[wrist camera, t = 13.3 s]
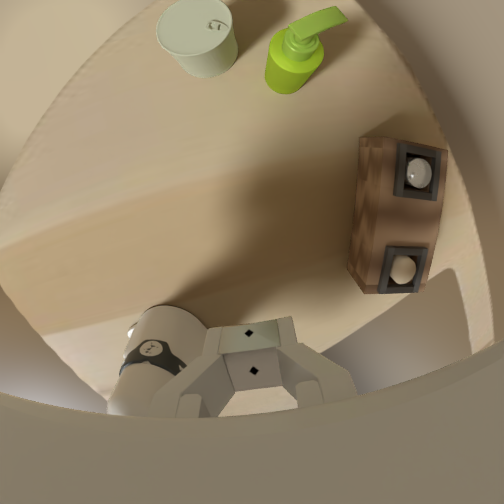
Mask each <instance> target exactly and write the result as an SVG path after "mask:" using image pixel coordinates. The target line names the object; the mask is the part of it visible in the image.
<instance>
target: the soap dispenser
mask: <svg viewBox="0 0 504 504" xmlns="http://www.w3.org/2000/svg"><path fill="white" fill-rule="evenodd" d="M347 21H348V19H347V18H346V17H345V16H344V15H343V13H342V12H341V11H340V10H339V9H338V8H337V7H336V6H333V7H329V8H326V9H323V10H320V11H317V12H315V13H312V14H310V15H308V16H305V17H303V18H301V19H299V20H297V21H295V22H293V23H291V24H289V25H288V28H286V29H283V30H281V31H279V32H277V33H276V34H275V35H274V36H273V38H272V39H271V41H270V45H269V51H268V58H267V64H266V70H265V80H266V83H267V84H268V86H269V87H270V88H271V89H272V90H274V91H275V92H277V93H281V94H291V93H294V92H296V91H297V90H299V89H300V88H301V87H302V85H303V84H304V83H305V82H306V81H307V79H308V78H309V77H310V76H311V75H312V73H313V72H314V71H315V70H316V69H317V67H318V66H319V65H320V64H321V62H322V60H323V57H324V49H323V46H322V43H321V42H320V40H319V37H318V35H317V34H319V33H321V32H323V31H325V30H327V29H330V28H332V27H334V26H337V25H340V24H343V23H345V22H347Z"/></svg>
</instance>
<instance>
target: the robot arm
mask: <svg viewBox="0 0 504 504" xmlns="http://www.w3.org/2000/svg"><path fill="white" fill-rule="evenodd" d="M277 321H278V323H277ZM128 337H129V341H128V343H127V346H126V348H125V351H124V354H123V357H124V358H125V360H124V361H123V363H122V366H121V369H120V373H119V379H118V381H117V383H116V385H115V387H114V389H113V391H112V394H111V396H110V398H109V400H108V402H107V414H102V413H94V412H87V411H81V410H74V409H69V408H63V407H58V406H53V405H48V404H44V403H39V402H35V401H31V400H27V399H23V398H20V397H15V396H12V395H9V394H5V393H2V392H0V504H504V339H502V340H500V341H498V342H497V343H495V344H493V345H491V346H489V347H487V348H485V349H483V350H481V351H479V352H477V353H475V354H473V355H471V356H468V357H466V358H464V359H462V360H460V361H457V362H455V363H453V364H450V365H448V366H445V367H443V368H441V369H438V370H436V371H433V372H430V373H428V374H425V375H423V376H420V377H417V378H414V379H411V380H408V381H405V382H403V383H399V384H396V385H393V386H390V387H387V388H384V389H380V390H377V391H373V392H370V393H366V394H362V395H358V394H357V391H356V388H355V386H354V383H353V381H352V378H351V375H350V373H349V371H347V370H345V369H344V368H342V367H341V366H339V365H337V364H335V363H334V362H332V361H330V360H329V359H327V358H326V357H324V356H322V355H321V354H319V353H317V352H316V351H314V350H313V349H311V348H309V347H308V346H306V345H305V344H303V343H298V342H297V338H296V333H295V329H294V324H293V320H292V317H291V316H289V317H284V318H279V319H275V320H269V321H263V322H257V323H251V324H250V323H249V324H240V325H232V326H223V327H214V328H209V329H207V328H206V327H205V326H204V325H203V324H202V323H201V322H200V321H199V320H198V319H197V318H196V317H195V316H193V315H192V314H191V313H189V312H187V311H185V310H183V309H180V308H177V307H173V306H156V307H153V308H151V309H149V310H147V311H146V312H144V313H143V315H142V316H141V317H140V319H139V321H138V323H137V324H135V325H134V326H132V327H130V328H129V330H128ZM277 386H283V387H284V388H285V389H286V390H287V391H288V392H289V393H290V394H291V395H292V396H293V397H294V398H295V399H296V400H297V403H298V408H296V409H290V410H283V411H276V412H268V413H260V414H251V415H240V416H227V417H218V415H219V414H220V413H221V411H222V410H223V409H224V407H225V406H226V404H227V403H228V402H229V400H230V399H231V398H232V396H233V395H234V394H235V392H236V391H244V390H252V389H259V388H268V387H277Z"/></svg>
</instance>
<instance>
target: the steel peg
mask: <svg viewBox="0 0 504 504" xmlns="http://www.w3.org/2000/svg"><path fill="white" fill-rule="evenodd" d="M431 176H432V171H431V167H430V165H429V163H428V162H427V161H426V160H424V159H421V158H415V157H408V156H406V166H405V178H404V184H408V185H411V186H414V187H417V188H423V187H425V186H427V185H428V184H429V182H430V180H431Z"/></svg>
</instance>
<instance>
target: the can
mask: <svg viewBox="0 0 504 504" xmlns="http://www.w3.org/2000/svg"><path fill="white" fill-rule="evenodd" d="M156 36H157V40H158V42H159V44H160V45H161V46H162V47H163V48H164V49H165V50H166V51H168V52H169V53H170V54H171V55H172V56H173V57H174V58H175V59H176V60H177V61H178V62H179V63H180V65H181V67H182V68H183V69H184V70H185V71H186V72H187V73H189V74H190V75H193V76H195V77H200V78H209V77H214V76H217V75H220V74H222V73H224V72H225V71H227V70H228V69H229V68H230V67H231V66H232V65H233V64H234V62H235V60H236V58H237V55H238V44H237V41H236V39H235V35H234V29H233V18H232V14H231V11H230V9H229V8H228V6H227V5H226V4H225V3H223V2H222V1H220V0H179V1H177V2H175V3H174V4H172V5H171V6H170V7H168V8H167V9H166V10H165V11H164V13H163V14H162V15H161V17H160V19H159V21H158V23H157V27H156Z"/></svg>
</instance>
